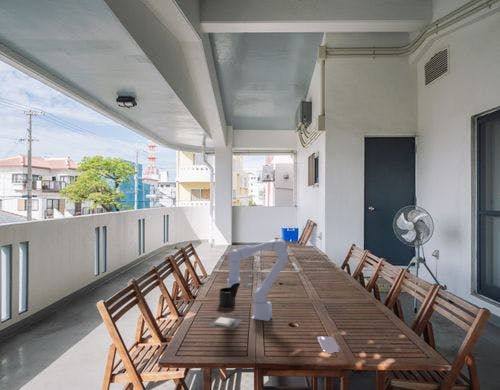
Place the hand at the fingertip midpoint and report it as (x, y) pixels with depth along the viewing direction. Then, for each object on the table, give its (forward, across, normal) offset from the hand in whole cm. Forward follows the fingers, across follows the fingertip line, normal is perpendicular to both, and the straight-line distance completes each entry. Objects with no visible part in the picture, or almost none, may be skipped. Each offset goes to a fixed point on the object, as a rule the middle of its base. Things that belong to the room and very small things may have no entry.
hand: (233, 296), depth 181 cm
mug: (+11, -13, -9) cm, 19 cm away
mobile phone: (+10, +16, +53) cm, 56 cm away
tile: (+9, +8, 0) cm, 12 cm away
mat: (+10, +10, 0) cm, 15 cm away
